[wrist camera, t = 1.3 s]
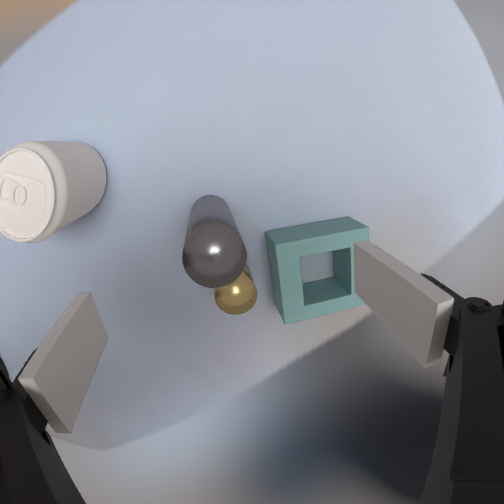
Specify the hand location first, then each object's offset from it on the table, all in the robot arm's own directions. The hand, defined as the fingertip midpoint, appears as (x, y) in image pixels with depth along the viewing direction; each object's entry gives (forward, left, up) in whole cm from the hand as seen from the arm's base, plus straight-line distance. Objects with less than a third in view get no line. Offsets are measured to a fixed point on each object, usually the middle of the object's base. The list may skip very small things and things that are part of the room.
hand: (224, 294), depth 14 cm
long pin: (0, 0, -19) cm, 19 cm away
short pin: (+1, -7, -19) cm, 20 cm away
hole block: (+10, -8, -19) cm, 23 cm away
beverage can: (-14, +7, -19) cm, 25 cm away
